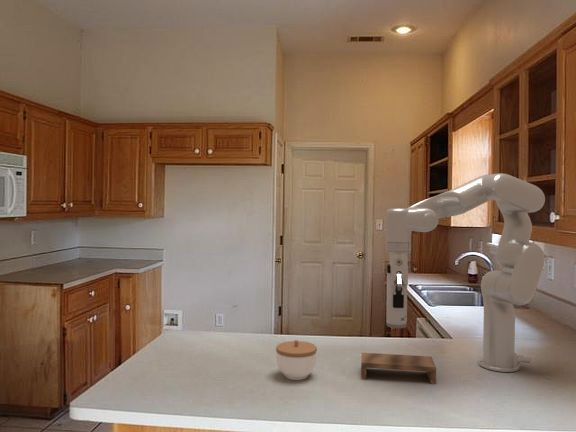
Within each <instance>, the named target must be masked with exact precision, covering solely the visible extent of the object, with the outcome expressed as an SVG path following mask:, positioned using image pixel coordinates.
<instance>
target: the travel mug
mask: <svg viewBox="0 0 576 432" xmlns="http://www.w3.org/2000/svg"><path fill="white" fill-rule="evenodd" d="M409 264H410V263H409V262H408V266H409ZM396 277H397V275H396ZM395 284H397V282H395ZM393 294H394V285H392V283H391V272H390V263H388V264H387V265H386V303H385V304H386V305H385V306H386V307H385V308H386V313H385V316H386V318H385V319H386V320H385V322H386V324H385V325H386V327H388V328H391V329H404V328H407V326H408V324H407V323H408V285H407V286H406V284H404V282H403V295H404V308H393Z"/></svg>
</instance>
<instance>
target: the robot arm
mask: <svg viewBox="0 0 576 432" xmlns="http://www.w3.org/2000/svg"><path fill="white" fill-rule="evenodd" d="M491 201H495V203H496V206H497V208H498V210H499V211H500V213H501V216H502V217H503V222H504V224H503V230H502V232H501V236H500V238H499V241H498V244H497V247H496V251H495V254H494V260H495V262H496V264H497V265H498V266H499V267H502V268H503V269H509V270H512V272H508V271H503V270H490V271H488V272H486V273H485V274H484V275H483V277H482V279H481V281H480V290H481V295H482V303H483V330H482V332H483V336H482V337H483V338H482V343H483V345H482V349H483V350H482V356H481V357H479V358H478V359H477V363H478V366H480V367H482V368H484V369H487V370H490V371H495V372H501V373H513V372H517V371H519V370H520V368H521V365H520V364H521V363H523V364H531V363H532V360H531V357H529V356H524V355H520V354H519V355H518V354H516V353H515V352H516V351H515V349H516V348H515V347H516V342H515V341H516V337H515V336H516V312H515V306H524V305H527V304H529V302H531V301H532V299H533V298H534V296H535V294H536V291H537V288H538V285H539V282H540V279H541V275H542V273H543V271H544V270H543V269H544V267H545V266H544V265H545V254H544V251H543V249H542V247H541V246H540V245H538V244H537V243H535V242H530V240H531V236H532V232H533V225H532V221H531V218H530V216H529V214H530V213H536V212H537V211H540V210H541V209H542V208H543V206H544V205H545V201H546V197H545V194H544V192H543V190H542V189H541V188H540V187H539V186H537V185H535V184H532V183H530V182H528V181H525V180H523V179H520V178H517V177H515V176H513V175H510V174H508V173H491V174H484V175H481V176H478V177H475V178H474V179H470V180H469V181H467V182H465V183H463V184H460V185H459V186H456V187H455V188H452V189H450V190H448V191H444V192H441V193H439V194H437V195H434V196H431V197H429V198H427V199H423V200H421V201H419V202H417V203H414V204H413V205H411V206H409V207H406V208H402V207H401V208H400V207H399V208H392V207H391V208H388V209H387V210H386V213H385V219H386V220H385V253H387V254H389V264H390V272H391V283H392V285H394V294H393V308H404V295H403V282H404V284H406V286H407V287H408V286H409V276H408V275H409V265H408V263H409V262H408V261H409V260H408V254H411V250H412V249H411V248H412V247H411V244H412V243H411V238H412V237H411V235H412V232H417V233H418V232H419V233H421V232H422V233H428V232H431V231H433V230H434V229H436V228H437V226H438V224H439V219H442V218H449V217H455V216H459V215H463V214H466V213H468V212H470V211H472V210H473V209H475V208H477V207H479V206H481V205H484V204H485V203H488V202H491ZM396 275H397V277H396ZM395 282H397V284H395ZM514 305H515V306H514Z"/></svg>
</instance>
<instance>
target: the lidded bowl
mask: <svg viewBox="0 0 576 432" xmlns="http://www.w3.org/2000/svg"><path fill="white" fill-rule="evenodd" d="M275 350H276V351H275V352H276V363H277V366H278V370H279V371H280V372H281V373H282V374H283V375H284V377H285V378H286V379H288V380H292V381H302V380H305V379H307V378H308V376H309V375H310V374H311V373H312V372H313V371H314V368H315V366H316V361H317V350H318V349H317V346H316V345H315V344H313V343H312V342H307V341H304V340H303V341H302V340H297V339H294V340H292V341H291V340H290V341H284V342H281V343H279V344H277V345H276V347H275Z"/></svg>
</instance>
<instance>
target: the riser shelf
mask: <svg viewBox="0 0 576 432" xmlns="http://www.w3.org/2000/svg"><path fill="white" fill-rule="evenodd" d="M432 357H433V356H430V355H429V356H428V355H410V354H392V353H375V352H361V359H360V360H361V365H360V366H361V367H360V368H361V369H360V373H361V375H360V376H361V377H360V378H361V380H367V369H377V370H378V369H379V370H395V371H410V372H411V371H413V372H425V373H426V375H427V378H428V380H429V383H430V384H434V385H437V366H436V364H435V361H434V359H433V358H432Z"/></svg>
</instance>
